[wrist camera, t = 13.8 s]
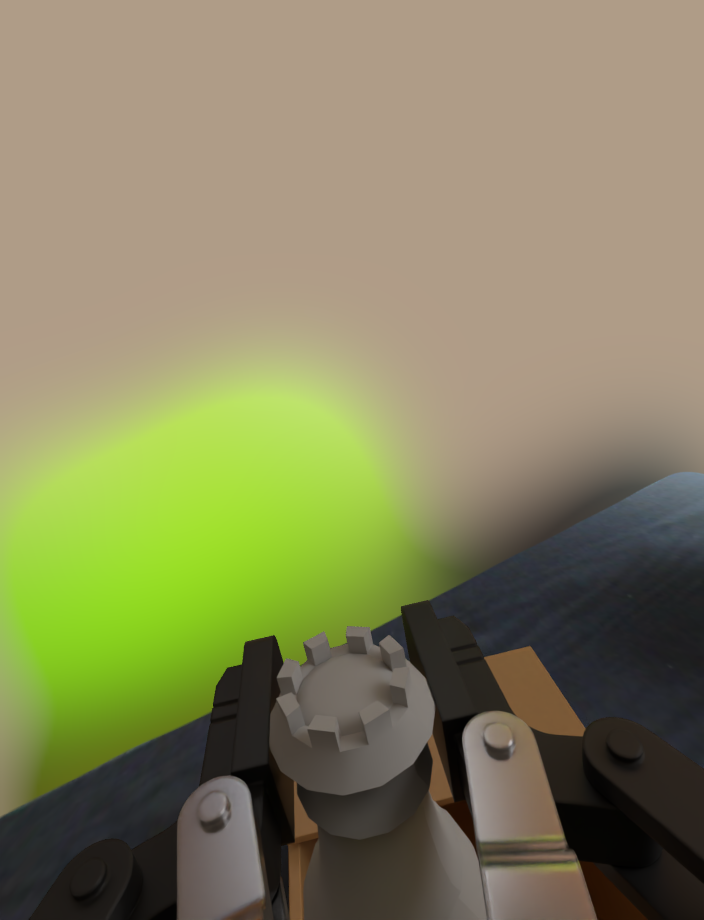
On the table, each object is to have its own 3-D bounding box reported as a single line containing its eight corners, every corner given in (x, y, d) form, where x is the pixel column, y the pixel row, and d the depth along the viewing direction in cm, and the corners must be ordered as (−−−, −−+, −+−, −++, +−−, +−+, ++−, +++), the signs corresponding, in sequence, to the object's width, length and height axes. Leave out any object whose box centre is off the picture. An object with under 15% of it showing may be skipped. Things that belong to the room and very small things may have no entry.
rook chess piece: (512, 862, 13) (489, 614, 10) (468, 1113, 9) (413, 839, 6) (358, 803, 15) (304, 584, 12) (275, 988, 11) (168, 739, 9)
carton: (537, 781, 32) (530, 644, 28) (714, 1131, 19) (750, 973, 15) (323, 837, 31) (283, 704, 27) (355, 1242, 18) (285, 1108, 14)
